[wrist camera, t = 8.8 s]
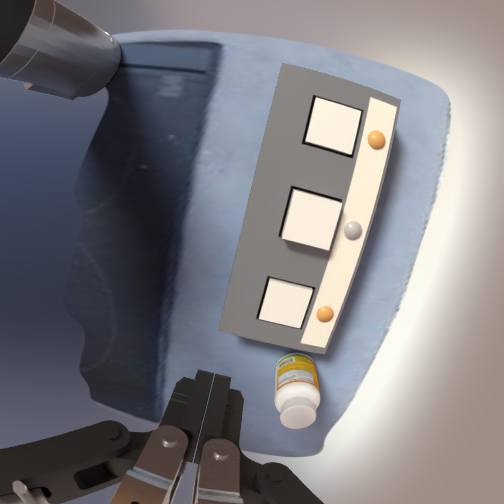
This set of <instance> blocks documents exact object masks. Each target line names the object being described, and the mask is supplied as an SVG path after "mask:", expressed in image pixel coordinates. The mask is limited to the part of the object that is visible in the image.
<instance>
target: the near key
mask: <svg viewBox="0 0 504 504" xmlns="http://www.w3.org/2000/svg"><path fill="white" fill-rule="evenodd" d="M360 115H361V111H359V110H356V109H353V108H350V107H347V106H344V105H340V104H337V103H334V102H330V101H327V100H324V99H320V98H316V99H315V100H314V102H313V105H312V109H311V113H310V117H309V122H308V126H307V130H306V134H305V138H304V142H303V144H306V145H309V146H313V147H316V148H320V149H323V150H327V151H330V152H334V153H337V154H340V155H343V156H347V155H351V154H352V150H353V146H354V142H355V137H356V133H357V128H358V124H359V119H360Z"/></svg>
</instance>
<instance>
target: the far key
mask: <svg viewBox="0 0 504 504" xmlns="http://www.w3.org/2000/svg"><path fill="white" fill-rule="evenodd" d="M312 291H313V290H312V286H308V285H304V284H299V283H295V282H291V281H287V280H283V279H279V278H275V277H271V276H269V278H268V282H267V285H266V289H265V293H264V296H263V300H262V304H261V307H260V315H259V319H261V320H266V321H270V322H274V323H278V324H283V325H287V326H292V327H296V328H300V327H301V324H302V321H303V318H304V315H305V312H306V309H307V306H308V303H309V300H310V298H311V294H312Z"/></svg>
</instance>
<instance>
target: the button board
mask: <svg viewBox="0 0 504 504" xmlns="http://www.w3.org/2000/svg"><path fill="white" fill-rule="evenodd" d="M316 98H320V99H324V100H327V101H330V102H334V103H337V104H340V105H344V106H347V107H350V108H353V109H356V110H359V111H361V115H360V119H359V124H358V128H357V133H356V137H355V142H354V146H353V150H352V154H351V155H347V156H343V155H340V154H337V153H334V152H330V151H327V150H323V149H320V148H316V147H313V146H309V145H306V144H303V142H304V138H305V134H306V130H307V126H308V122H309V117H310V113H311V109H312V105H313V102H314V100H315V99H316ZM400 102H401V100H400V99H397V98H395V97H392V96H390V95H387V94H385V93H382V92H379V91H377V90H374V89H371V88H368V87H366V86H363V85H360V84H357V83H354V82H351V81H348V80H345V79H341V78H338V77H335V76H332V75H328V74H325V73H321V72H317V71H314V70H310V69H306V68H302V67H298V66H294V65H289V64H285V63H282V66H281V69H280V73H279V77H278V81H277V85H276V89H275V93H274V97H273V101H272V105H271V109H270V113H269V117H268V121H267V125H266V129H265V133H264V137H263V141H262V145H261V149H260V154H259V158H258V162H257V166H256V170H255V174H254V178H253V183H252V187H251V191H250V195H249V199H248V204H247V208H246V212H245V216H244V221H243V225H242V229H241V234H240V238H239V242H238V247H237V251H236V255H235V260H234V264H233V268H232V273H231V277H230V282H229V286H228V291H227V295H226V299H225V304H224V308H223V313H222V318H221V322H220V327H219V331H221V332H225V333H229V334H233V335H237V336H241V337H245V338H249V339H253V340H258V341H262V342H266V343H271V344H275V345H279V346H284V347H289V348H293V349H298V350H303V351H308V352H313V353H318V354H324V355H325V352H326V350H327V348H328V345H329V343H330V341H331V338H332V336H333V333H334V331H335V328H336V326H337V323H338V321H339V318H340V316H341V313H342V310H343V308H344V305H345V303H346V300H347V297H348V294H349V292H350V289H351V286H352V283H353V280H354V278H355V275H356V272H357V269H358V266H359V263H360V260H361V257H362V254H363V251H364V248H365V245H366V241H367V238H368V235H369V232H370V228H371V225H372V222H373V218H374V215H375V211H376V208H377V204H378V200H379V197H380V193H381V189H382V185H383V181H384V177H385V173H386V169H387V165H388V161H389V157H390V152H391V148H392V143H393V138H394V134H395V129H396V124H397V118H398V113H399V108H400ZM293 189H296V190H300V191H304V192H308V193H311V194H315V195H319V196H322V197H326V198H329V199H333V200H336V201H338V202H340V203H342V207H341V210H340V214H339V217H338V221H337V224H336V228H335V231H334V235H333V238H332V242H331V245H330V248H329V250H325V249H321V248H318V247H314V246H310V245H306V244H302V243H298V242H294V241H290V240H286V239H283V238H282V229H283V225H284V221H285V217H286V214H287V210H288V206H289V202H290V198H291V194H292V190H293ZM269 276H271V277H275V278H279V279H283V280H287V281H291V282H295V283H299V284H304V285H308V286H312V290H313V291H312V294H311V298H310V300H309V303H308V306H307V309H306V312H305V315H304V318H303V321H302V324H301V327H300V328H296V327H292V326H287V325H283V324H278V323H274V322H270V321H266V320H261V319H259V315H260V307H261V304H262V300H263V296H264V293H265V289H266V285H267V282H268V278H269Z"/></svg>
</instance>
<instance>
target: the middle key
mask: <svg viewBox="0 0 504 504" xmlns="http://www.w3.org/2000/svg"><path fill="white" fill-rule="evenodd" d="M341 207H342V203H340V202H338V201H336V200H333V199H329V198H326V197H322V196H319V195H315V194H311V193H308V192H304V191H300V190H296V189H293V190H292V194H291V198H290V202H289V206H288V210H287V214H286V217H285V221H284V225H283V229H282V238H283V239H286V240H290V241H294V242H298V243H302V244H306V245H310V246H314V247H318V248H321V249H325V250H329V248H330V245H331V242H332V238H333V235H334V231H335V228H336V224H337V221H338V217H339V214H340V210H341Z"/></svg>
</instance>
